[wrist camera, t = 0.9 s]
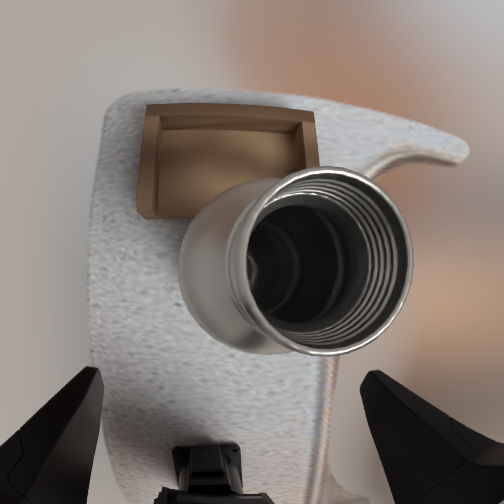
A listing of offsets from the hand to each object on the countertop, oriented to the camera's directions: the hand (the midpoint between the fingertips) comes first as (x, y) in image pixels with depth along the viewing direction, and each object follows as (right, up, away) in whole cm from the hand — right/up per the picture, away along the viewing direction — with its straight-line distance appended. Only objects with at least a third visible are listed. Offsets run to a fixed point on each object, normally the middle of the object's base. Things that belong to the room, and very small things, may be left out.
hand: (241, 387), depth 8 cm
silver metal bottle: (-2, +3, +16) cm, 17 cm away
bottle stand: (-2, +12, +17) cm, 21 cm away
